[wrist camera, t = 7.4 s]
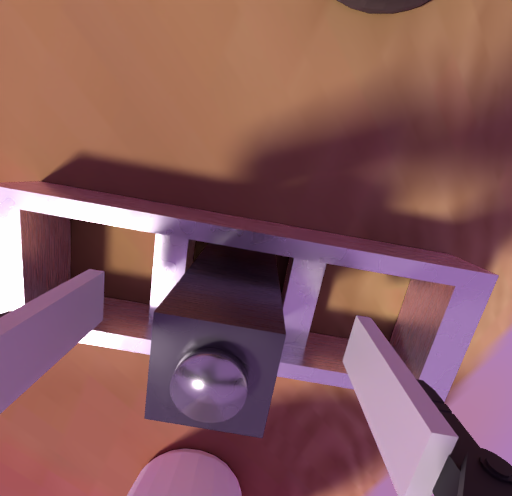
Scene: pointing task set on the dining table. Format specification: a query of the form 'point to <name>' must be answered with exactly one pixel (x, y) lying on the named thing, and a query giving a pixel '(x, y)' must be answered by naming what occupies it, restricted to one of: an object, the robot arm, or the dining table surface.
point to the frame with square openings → (251, 238)
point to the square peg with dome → (218, 343)
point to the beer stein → (383, 5)
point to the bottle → (186, 476)
